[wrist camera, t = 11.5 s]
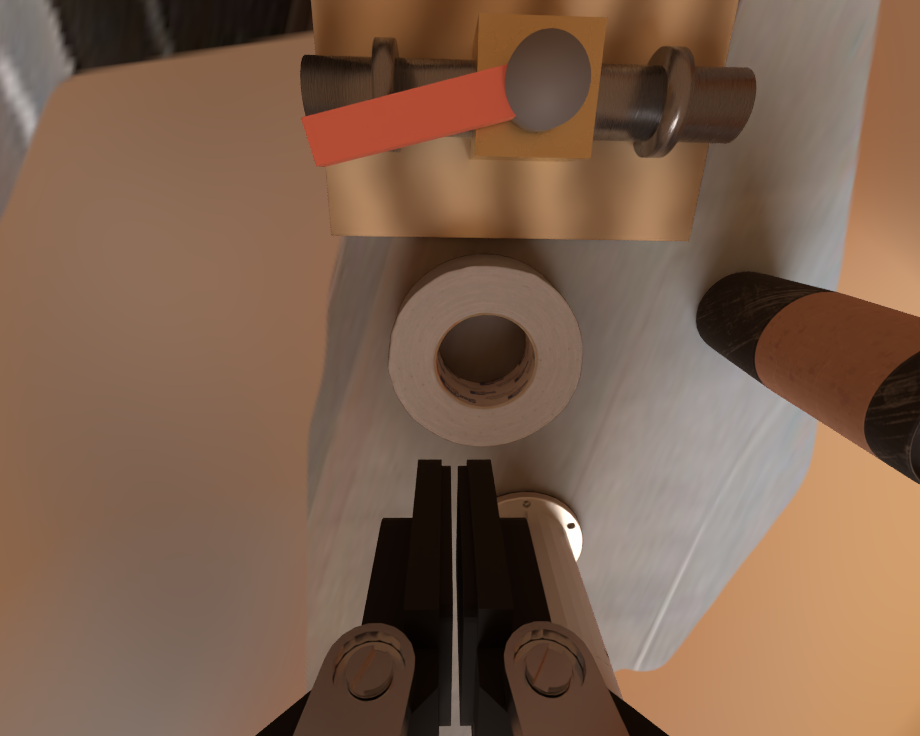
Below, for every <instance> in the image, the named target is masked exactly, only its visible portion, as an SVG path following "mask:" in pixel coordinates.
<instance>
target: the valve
mask: <svg viewBox="0 0 920 736" xmlns="http://www.w3.org/2000/svg"><path fill="white" fill-rule="evenodd" d="M606 23H607V17H581V16H550V15H520V14H489V13H479V16H478V21H477V26H476V31H475V35H474V40H473V46H472V60H466V59H432V58H399V52H398V45H397V41H396V38H390V37H375V38H374V40H373V45H372V57H364V56H330V55H304V56H303V58H302V61H301V71H300V72H301V73H300V78H301V92H302V100H303V105H304V111H305V115H306V116H309V115H313V114H317V113H321V112H324V111H328V110H332V109H336V108H340V107H344V106H348V105H351V104H355V103H359V102H363V101H367V100H371V99H375V98H378V97H382V96H386V95H390V94H394V93H398V92H402V91H405V90H409V89H413V88H417V87H421V86H425V85H429V84H432V83H436V82H440V81H444V80H448V79H452V78H456V77H460V76H463V75H467V74H471V73H475V72H479V71H483V70H487V69H490V68H494V67H498V66H502V65H506V64H507V63H508V61H509V60H510V58H511V56H512V54H513V52H514V51H515V49H516V48H517V46H518V45H519V44H520V43H521V42H522V41H523V40H524V39H525V38H526V37H527V36H529V35H530V34H532V33H534V32H536V31H539V30H541V29H547V28H556V29H561V30H564V31H566V32H569V33H570V34H572V35H573V36H575V37H576V38H577V39H578V40H579V41H580V43H581V44H582V45H583V47H584V49H585V50H586V52H587V55H588V58H589V61H590V66H591V83H590V89H589V92H588V95H587V98H586V100H585V102H584V104H583V105H582V107H581V108H580V110H579V111H578V112H577V113H576V114H575V116H573V117H572V118H571V119H570V120H568V121H567V122H565V123H564V124H561V125H559V126H557V127H555V128H553V129H551V130H548V131H545V132H537V133H535V132H528V131H525V130H523V129H521V128H519V127H518V126H516V125H515V124H514V123H513V122H512V121H511V120H509V121H505V122H501V123H497V124H493V125H490V126H486V127H482V128H478V129H474V130H470V131H466V132H462V133H458V134H454V135H450V136H446V137H469V138H470V160H500V161H546V162H568V161H576V160H583V159H591V151H592V142H593V140H597V141H634V143H633V147H634V150H635V153H636V154H637V155H638V156H639V157H641V158H662V157H664V156H666V155H667V154H669V153H670V151H671V150H672V149H673V148H674V146H675V145H676V143H677V142H682V143H729V142H731V141H733V140H734V139H735V138H736V137H737V136H738V135H739V134H740V132H741V131H742V130H743V128H744V127H745V125H746V123H747V121H748V119H749V117H750V114H751V111H752V108H753V105H754V101H755V95H756V79H755V75H754V73H753V71H752V70H751V69H750V68H740V67H706V66H695V61H694V57H693V54H692V52H691V51H690V49H689V48H687V47H683V46H662V47H660V48H659V49H658V50H657V51H656V52H655V53H654V54H653V56H652V57H651V59H650V60H649V62H648V64H647V65H637V64H603V63H602V57H603V48H604V40H605V31H606ZM400 151H401V148H398V149H394V150H390V151H386V152H400Z"/></svg>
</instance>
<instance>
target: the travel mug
mask: <svg viewBox="0 0 920 736" xmlns="http://www.w3.org/2000/svg"><path fill="white" fill-rule="evenodd" d="M696 323H697V329H698V332H699V334H700V336H701V338H702V339H703V340H704V341H705V342H706V343H707V344H708V345H709V346H710V347H712V348H713V349H714V350H716V351H717V352H718V353H720V354H721V355H722V356H724V357H725V358H727V359H728V360H729V361H731V362H732V363H734V364H735V365H736V366H738V367H739V368H741V369H742V370H743V371H745V372H746V373H748V374H749V375H750V376H752V377H753V378H755V379H756V380H757V381H759V382H760V383H761V384H763V385H764V386H766V387H767V388H769V389H770V390H771V391H773V392H775V393H776V394H778V395H779V396H781V397H782V398H784V399H786V400H787V401H789V402H790V403H792V404H793V405H795V406H797V407H798V408H800V409H801V410H803V411H805V412H806V413H808V414H809V415H811V416H812V417H814V418H816V419H817V420H819V421H820V422H822V423H824V424H825V425H827V426H828V427H830V428H831V429H833V430H834V431H836V432H838V433H839V434H841V435H842V436H844V437H845V438H847V439H849V440H850V441H852V442H853V443H855V444H857V445H858V446H860V447H861V448H863V449H864V450H866V451H867V452H869V453H871V454H872V455H874V456H875V457H877V458H878V459H880V460H882V461H883V462H885V463H886V464H888V465H889V466H891V467H893V468H894V469H896V470H897V471H899V472H901V473H902V474H904V475H905V476H907V477H908V478H910V479H911V480H913V481H915V482H916V483H918V484H920V317H917V316H914V315H910V314H907V313H903V312H901V311H898V310H894V309H891V308H888V307H884V306H881V305H878V304H875V303H871V302H868V301H865V300H862V299H858V298H855V297H852V296H849V295H845V294H841V293H838V292H834V291H830V290H826V289H822V288H818V287H814V286H810V285H806V284H802V283H798V282H794V281H790V280H786V279H782V278H778V277H774V276H770V275H766V274H761V273H757V272H740V273H735V274H732V275H729V276H727V277H725V278H723V279H721V280H720V281H718V282H717V283H716V284H715V285H713V286H712V287H711V288H710V289H709V291H708V292H707V293H706V294H705V296H704V297H703V299H702V301H701V303H700V305H699V308H698V311H697V318H696Z"/></svg>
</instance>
